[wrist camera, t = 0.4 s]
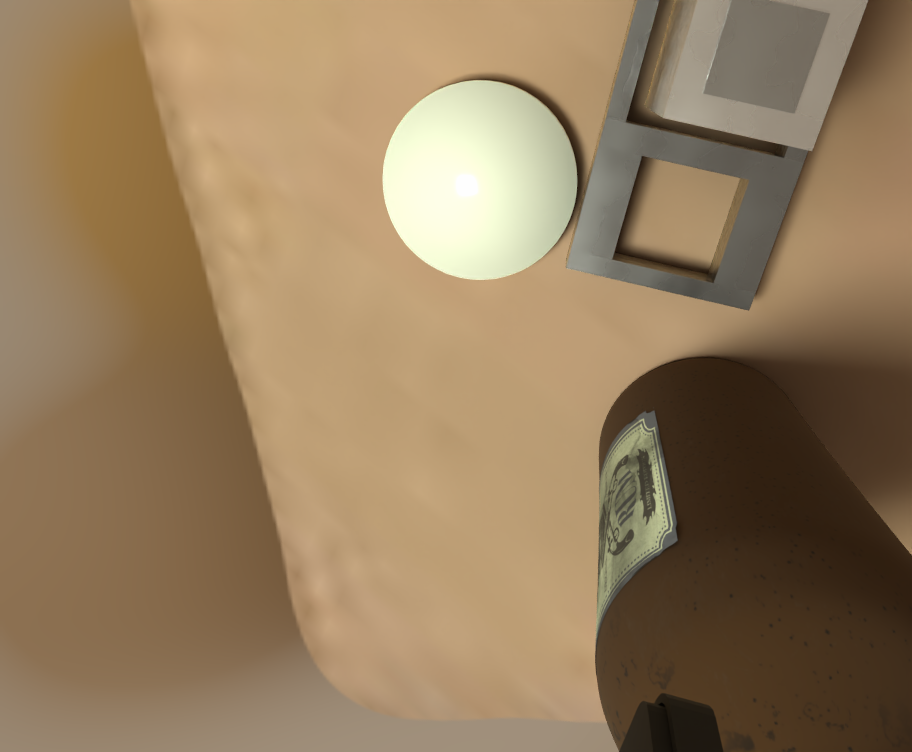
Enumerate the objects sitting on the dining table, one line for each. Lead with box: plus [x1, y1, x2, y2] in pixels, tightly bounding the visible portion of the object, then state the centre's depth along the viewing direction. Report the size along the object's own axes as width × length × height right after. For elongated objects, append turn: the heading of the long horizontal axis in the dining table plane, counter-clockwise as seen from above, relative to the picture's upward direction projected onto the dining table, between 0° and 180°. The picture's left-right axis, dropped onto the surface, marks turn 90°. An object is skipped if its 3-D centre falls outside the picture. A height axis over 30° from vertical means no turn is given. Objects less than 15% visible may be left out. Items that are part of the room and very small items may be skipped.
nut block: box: [645, 0, 868, 151], centre depth 28 cm, size 5×5×7 cm
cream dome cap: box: [383, 80, 577, 280], centre depth 34 cm, size 8×8×1 cm
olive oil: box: [595, 358, 912, 752], centre depth 26 cm, size 11×11×25 cm
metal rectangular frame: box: [566, 0, 808, 310], centre depth 32 cm, size 14×8×2 cm, turn 168°
